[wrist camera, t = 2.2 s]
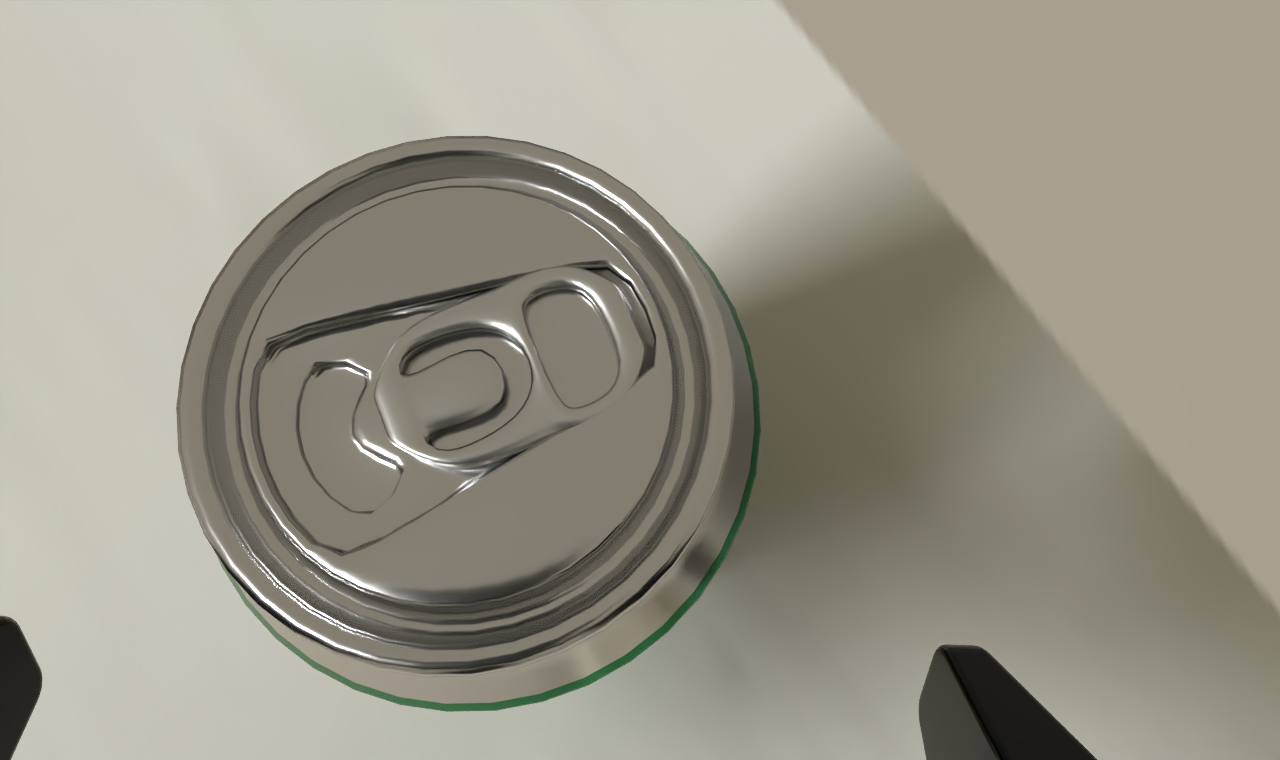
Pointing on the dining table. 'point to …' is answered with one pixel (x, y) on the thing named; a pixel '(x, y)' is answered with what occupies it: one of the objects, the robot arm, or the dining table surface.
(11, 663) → the robot arm
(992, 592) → the dining table surface
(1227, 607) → the dining table surface
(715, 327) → the soda can
